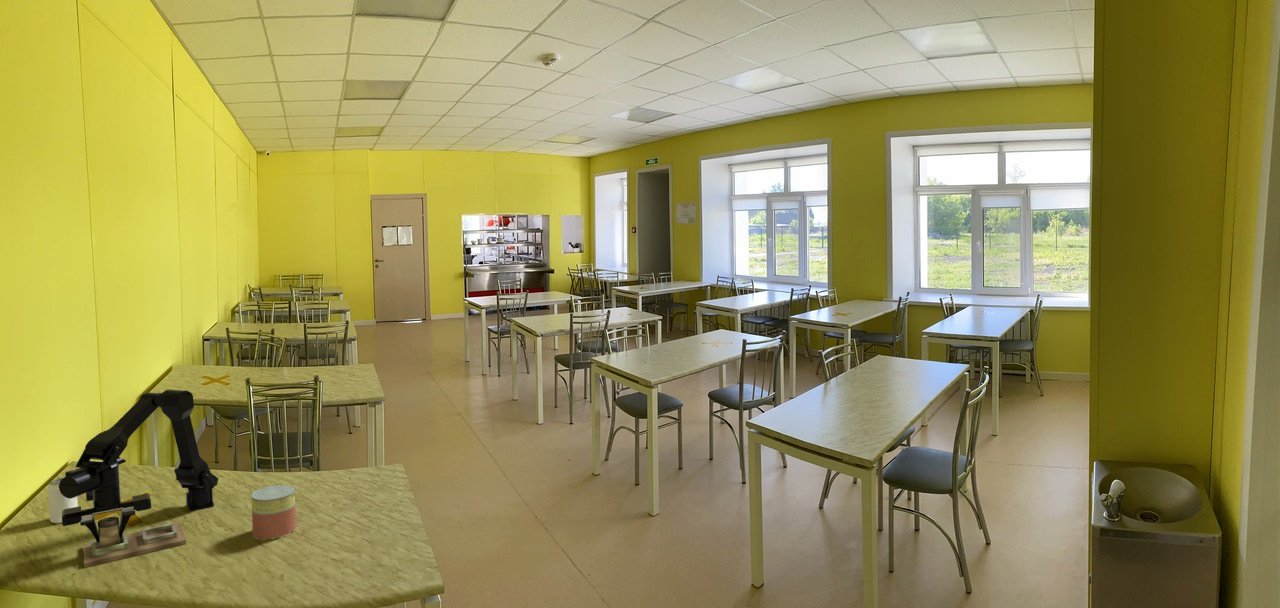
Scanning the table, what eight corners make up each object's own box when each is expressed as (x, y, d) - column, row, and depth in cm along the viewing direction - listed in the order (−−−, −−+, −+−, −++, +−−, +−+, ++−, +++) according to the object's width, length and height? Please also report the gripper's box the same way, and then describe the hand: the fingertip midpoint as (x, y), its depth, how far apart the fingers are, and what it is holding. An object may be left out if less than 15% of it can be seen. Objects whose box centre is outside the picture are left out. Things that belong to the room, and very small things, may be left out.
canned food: (304, 528, 199) (303, 489, 198) (269, 543, 189) (268, 502, 188) (279, 520, 204) (277, 482, 203) (243, 535, 194) (242, 495, 193)
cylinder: (119, 539, 185) (118, 515, 184) (120, 545, 182) (119, 520, 181) (98, 544, 182) (97, 519, 182) (99, 550, 179) (97, 525, 178)
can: (62, 525, 197) (59, 485, 196) (44, 522, 198) (41, 483, 197) (84, 516, 203) (81, 478, 202) (67, 513, 205) (64, 476, 204)
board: (179, 526, 198) (179, 517, 198) (186, 543, 188) (185, 534, 187) (83, 547, 184) (82, 538, 184) (84, 567, 173) (83, 557, 173)
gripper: (146, 468, 192) (149, 520, 194) (60, 482, 180) (64, 538, 182) (149, 479, 184) (152, 534, 186) (60, 495, 172) (64, 553, 174)
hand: (109, 539), depth 182 cm, fingers closed on cylinder, 4 cm apart
